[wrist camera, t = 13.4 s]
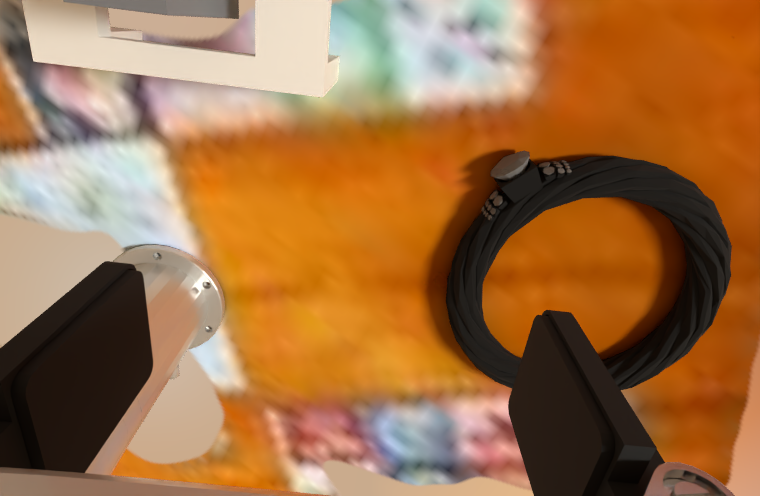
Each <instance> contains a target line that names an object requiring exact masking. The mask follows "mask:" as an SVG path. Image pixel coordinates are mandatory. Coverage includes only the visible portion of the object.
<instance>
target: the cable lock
mask: <svg viewBox="0 0 760 496" xmlns="http://www.w3.org/2000/svg"><path fill="white" fill-rule="evenodd" d="M529 157H530V155H529V152H527V151H521V152H517V153H514V154H511V155H508V156H505V157H503V158H502V159H501V160H500V161H499V162H498V163H497V165H496V166H495V167H494V168H493V169H492V170H491V176H492V177H494V179H495V180H496V182H497V183H498V185H499V186H500V188H501V189H502V190H503V191H504V193H503V194H501V193H500V191H498V192H497V189H496V190H495V191H494V192H493V193H492V194H491V195H490V196H489V197H490V199H489V198H488V199H487V201H486V202H485V206H483V207H482V213H481V214H480V215H479V216H478V217H477V219H476V220H475V221H474V222H473V224H472V225H471V227H470V228H469V229H468V231H467V232H466V234H465V235H464V236H463V238H462V239H461V241H460V244H459V246H458V248H457V250H456V253H455V256H454V259H453V262H452V267H451V272H450V274H449V276H448V281H447V294H446V304H447V309H448V314H449V320H450V324H451V327H452V330H453V332H454V335H455V338H456V341H457V342H458V343H459V345H460V346H461V348H462V349H463V351H464V352H465V354H466V355H467V356H468V357H469V359H470V360H471V361H472V362H473V364H474V365H475V366H476V367H477V368H478V369H479V370H480V371H482V372H483V373H485V374H486V375H487V376H489V377H490V378H492V379H493V380H494V381H496V382H498V383H501V384H503V385H505V386H507V387H510V388H512V389H513V385H514V382H515V379H516V376H517V373H518V369H519V366H520V363H521V360H522V359H521V358H519V357H516V356H515V355H513V354H512V353H510V352H509V351H508V350H506V349H505V348H504V347H503V346H502V345H501V344H500V343H499V342H498V341H497V340H496V339H495V338H494V337H493V335H492V334H491V333H490V331H489V329H488V327H487V325H486V323H485V321H484V317H483V310H482V284H483V281H484V278H485V276H486V274H487V272H488V270H489V268H490V266H491V265H492V263H493V261H494V259H495V257H496V255H497V253H498V252H499V250H500V249H501V247H502V246H503V245H504V243H505V242H506V241H507V239H508V238H509V237H510V236H511V235H512V234H514V233H515V232H516V231H518V230H519V229H520V228H522V227H523V226H525V225H526V224H527V223H529V222H530V221H531V220H533V219H534V218H535V217H537V216H538V215H539V214H541V213H542V212H543V211H545V210H548V209H551V208H554V207H557V206H560V205H563V204H566V203H569V202H572V201H576V200H579V199H582V198H600V197H623V198H627V199H630V200H633V201H637V202H640V203H643V204H647V205H650V206H652V207H653V208H655V209H656V210H658V211H659V212H661V213H662V214H663V215H665V216H666V217H668V218H669V219H670V220H671V222H672V223H673V225H674V226H675V228H676V230H677V231H678V233H679V235H680V236H681V238H682V240H683V241H684V243H685V252H686V261H687V269H686V278H685V281H684V285H683V288H682V292H681V294H680V296H679V298H678V300H677V302H676V303H675V305H674V307H673V309H672V311H671V312H670V313H669V315H668V316H667V318H666V319H665V321H664V322H663V323H662V324H661V325H660V326H659V327H658V328H656V329H655V330H654V331H653V332H652V333H651V334H650V335H648V336H647V337H646V338H645V339H644V340H643V341H642V342H640V343H639V344H638V345H637V346H636V347H634V348H631V349H629V350H627V351H624V352H622V353H620V354H618V355H616V356H614V357H611V358H609V359H607V360H604V361H602V362H603V364H604V365H605V367H606V368H607V370H608V372H609V373H610V375H611V376H612V378H613V379H614V381H615V383H616V384H617V386H618V387H619V389H620V390H623V389H628V388H632V387H634V386H636V385H638V384H640V383H642V382H644V381H646V380H648V379H650V378H652V377H654V376H656V375H658V374H659V373H660V372H662V371H663V370H664V369H665V368H667V367H669V366H671V365H672V364H674V363H675V362H676V361H678V360H679V359H681V358H682V357H683V356H685V355H686V354H688V352H689V351H690V350H691V348H692V347H693V346H694V344H695V343H696V342H697V340H698V339H699V338H700V337H701V336H702V335H703V334H704V333H705V332H706V330H707V329H708V328H709V327H710V326H711V325H712V323H713V320H714V318H715V316H716V313H717V311H718V308H719V306H720V304H721V301H722V299H723V297H724V296H725V294H726V291H727V287H728V284H729V280H730V277H731V271H730V261H731V247H732V246H731V243H730V241H729V238H728V235H727V232H726V229H725V227H724V225H723V224H722V219H721V217H720V215H719V213H718V211H717V208H716V206H715V204H714V202H713V201H712V200H711V199H709V198H708V197H707V196H705V195H704V194H703V193H702V192H701V190H700V189H699V188H698V187H697V186H696V185H695V183H693V182H692V181H690V180H688V179H686V178H684V177H682V176H681V175H679V174H677V173H675V172H673V171H671V170H669V169H668V168H667V167H665V166H661V165H657V164H654V163H650V162H647V161H643V160H633V159H628V158H622V157H616V156H601V157H586V158H583V159H580V160H576V161H572V162H567V161H564V160H562V161H558V162H557V161H550V162H544V163H540V164H538V165H535V164H534V163H533V162H532V161H531V160H530V159H529ZM537 166H538V168H537Z"/></svg>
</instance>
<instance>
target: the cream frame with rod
mask: <svg viewBox="0 0 760 496" xmlns="http://www.w3.org/2000/svg"><path fill="white" fill-rule="evenodd" d="M331 2H332V0H256V2H255V55H254V54H246V53H238V52H231V51H223V50H215V49H207V48H199V47H191V46H183V45H175V44H167V43H160V42H152V41H144V40H143V38H142V31H139V30H131V29H123V28H115V27H110V22H109V13H108V8H107V7H99V6H91V5H83V4H75V3H67V2H63V0H22V4H23V9H24V15H25V20H26V25H27V30H28V36H29V41H30V46H31V51H32V57H33V61H34V62H42V63H50V64H58V65H66V66H74V67H82V68H91V69H99V70H107V71H115V72H123V73H131V74H139V75H147V76H155V77H163V78H171V79H179V80H187V81H195V82H203V83H211V84H219V85H227V86H235V87H243V88H251V89H259V90H268V91H276V92H284V93H292V94H300V95H308V96H316V97H324V96H325V94H326V93H327V92H328V91H329V90H330V89H331V88H332V87H333V86H334V85H335V83H336V82H337V81H338V71H339V58H340V56H335V55H328V49H329V33H330V18H331Z"/></svg>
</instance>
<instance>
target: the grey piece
mask: <svg viewBox="0 0 760 496" xmlns="http://www.w3.org/2000/svg"><path fill="white" fill-rule="evenodd" d="M63 2H67V3H75V4H83V5H91V6H99V7H107V8H114V9H122V10H130V11H138V12H146V13H154V14H162V15H173V16H195V17H213V18H233V19H239V9H238V8H239V7H238V0H63Z"/></svg>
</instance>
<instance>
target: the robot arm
mask: <svg viewBox="0 0 760 496" xmlns="http://www.w3.org/2000/svg"><path fill="white" fill-rule="evenodd" d="M224 311H225V300H224V296H223V292H222V289H221V287H220V285H219V283H218V281H217V279H216V278H215V277H214V275H213V274H212V272H211V271H210V270H209V269H208V268H207V267H206V266H205V265H204V264H203V263H201V262H200V261H199V260H197V259H196V258H194V257H193V256H191V255H189V254H187V253H185V252H183V251H181V250H178V249H175V248H172V247H167V246H161V245H144V246H139V247H135V248H132V249H130V250H127V251H125V252H124V253H122V254H121V255H120V256H118V257H117V258H116V259H115V260H114V261H113V262H109V261H107V262H104V263H102V264H101V265H100V266H99V267H97V268H96V269H95V270H94V271H93V272H91V273H90V274H89V275H88V276H87V277H85V278H84V279H83V280H82V281H81V282H79V283H78V284H77V285H76V286H75V287H74V288H72V289H71V290H70V291H69V292H67V293H66V294H65V295H64V296H63V297H61V298H60V299H59V300H58V301H57V302H56V303H54V304H53V305H52V306H51V307H49V308H48V309H47V310H46V311H45V312H43V314H41V315H40V316H39V317H37V318H36V319H35V320H34V321H33V322H31V323H30V324H29V325H28V326H27V327H25V328H24V329H23V330H22V331H21V332H20V333H18V334H17V335H16V336H15V337H13V338H12V339H11V340H10V341H9V342H7V343H6V344H5V345H4V346H3V347H1V348H0V496H329V495H319V494H308V493H298V492H287V491H277V490H266V489H256V488H245V487H235V486H224V485H213V484H202V483H191V482H180V481H168V480H157V479H146V478H135V477H124V476H113V475H111V474H112V472H113V470H114V468H115V467H116V465H117V463H118V462H119V460H120V458H121V457H122V455H123V453H124V451H125V450H126V448H127V447H128V445H129V443H130V442H131V440H132V438H133V437H134V435H135V433H136V432H137V430H138V429H139V427H140V425H141V424H142V422H143V421H144V419H145V418H146V416H147V414H148V413H149V411H150V410H151V408H152V406H153V405H154V403H155V401H156V400H157V398H158V397H159V395H160V393H161V392H162V390H163V388H164V387H165V385H166V384H167V382H168V380H169V379H175V378H177V377H178V376H179V374H180V373H179V363H180V361H181V360H182V358H183V356H184V355H185V353H186V352H187V350H188V349H192V348H194V347H197V346H200V345H201V344H203V343H205V342H206V341H208V340H209V339H210V338H211V337H212V336H213V335H214V334H215V332H216V331H217V329H218V328H219V326H220V324H221V322H222V320H223V316H224ZM508 409H509V416H510V419H511V422H512V425H513V429H514V432H515V435H516V438H517V442H518V445H519V448H520V452H521V455H522V458H523V461H524V465H525V468H526V471H527V474H528V478H529V481H530V484H531V487H532V491H533V494H534V496H734V495H733V493H732V492H731V491H730V490H729V489H727V488H726V487H725V486H724V485H723V484H722V483H721V482H720V481H718V480H716V479H715V478H713V477H712V476H710V475H709V474H707V473H706V472H704V471H701V470H699V469H697V468H695V467H693V466H690V465H686V464H682V463H677V462H667V463H665V462H664V460H663V459H662V457H661V456H660V454H659V452H658V451H657V448H656V446H655V445H654V443H653V441H652V440H651V438H650V437H649V435H648V433H647V432H646V430H645V429H644V427H643V425H642V424H641V422H640V421H639V419H638V418H637V416H636V414H635V413H634V411H633V410H632V408H631V406H630V405H629V403H628V402H627V400H626V398H625V397H624V395H623V394H622V392H621V391H620V389H619V387H618V386H617V384H616V383H615V381H614V379H613V378H612V376H611V375H610V373H609V372H608V370H607V368H606V367H605V365H604V364H603V362H602V360H601V359H600V357H599V356H598V354H597V352H596V351H595V349H594V348H593V346H592V345H591V343H590V341H589V340H588V338H587V337H586V335H585V333H584V332H583V330H582V329H581V327H580V325H579V324H578V322H577V321H576V319H575V318H574V316H573V315H572V314H571V313H569V312H561V311H552V310H546V311H544V312H543V314H542V315H537V316H536V317H535V319H534V321H533V324H532V328H531V331H530V334H529V337H528V340H527V344H526V347H525V350H524V353H523V357H522V360H521V363H520V366H519V369H518V373H517V376H516V379H515V382H514V385H513V389H512V392H511V395H510V398H509V405H508Z"/></svg>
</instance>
